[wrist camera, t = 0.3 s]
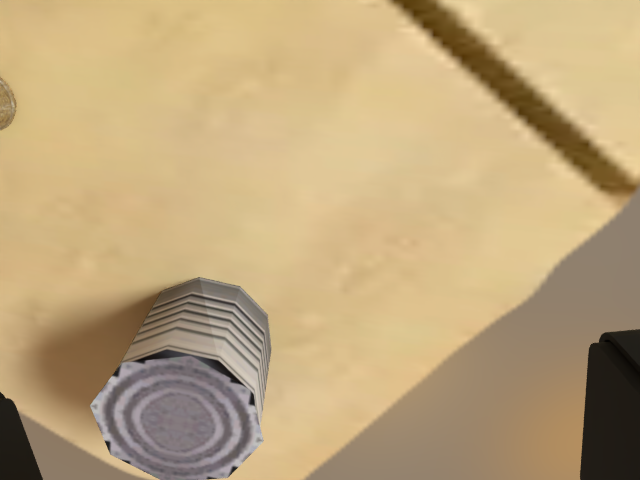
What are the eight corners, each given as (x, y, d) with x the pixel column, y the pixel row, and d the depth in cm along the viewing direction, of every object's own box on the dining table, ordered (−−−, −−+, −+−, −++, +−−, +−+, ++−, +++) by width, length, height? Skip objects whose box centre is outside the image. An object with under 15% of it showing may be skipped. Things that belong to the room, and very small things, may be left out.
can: (298, 317, 49) (292, 407, 38) (233, 409, 53) (210, 516, 42) (179, 252, 47) (136, 327, 36) (120, 352, 51) (63, 449, 40)
